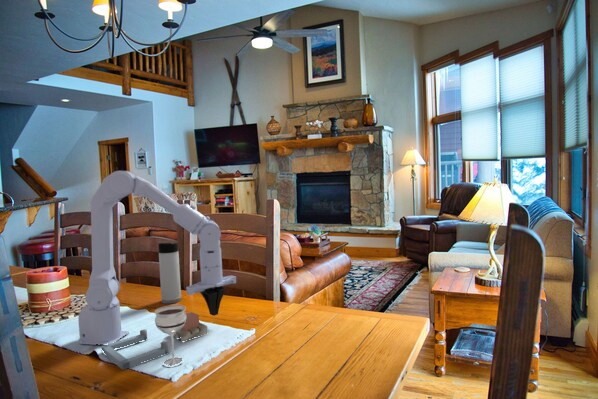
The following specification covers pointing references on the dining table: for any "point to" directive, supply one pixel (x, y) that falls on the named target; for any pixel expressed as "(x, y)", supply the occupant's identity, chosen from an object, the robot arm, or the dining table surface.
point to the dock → (135, 360)
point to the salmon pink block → (191, 321)
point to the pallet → (191, 332)
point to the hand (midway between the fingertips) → (214, 314)
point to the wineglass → (171, 325)
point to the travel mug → (169, 273)
